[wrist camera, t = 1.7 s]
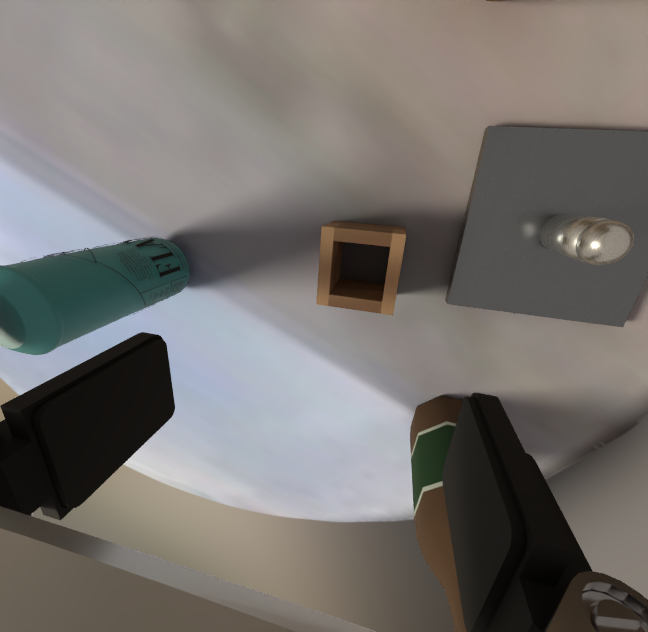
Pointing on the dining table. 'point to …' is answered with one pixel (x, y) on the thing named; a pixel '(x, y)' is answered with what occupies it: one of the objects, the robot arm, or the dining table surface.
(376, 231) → the walnut collar
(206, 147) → the dining table surface
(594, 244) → the post block
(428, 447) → the beer bottle
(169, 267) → the beverage bottle
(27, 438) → the robot arm
